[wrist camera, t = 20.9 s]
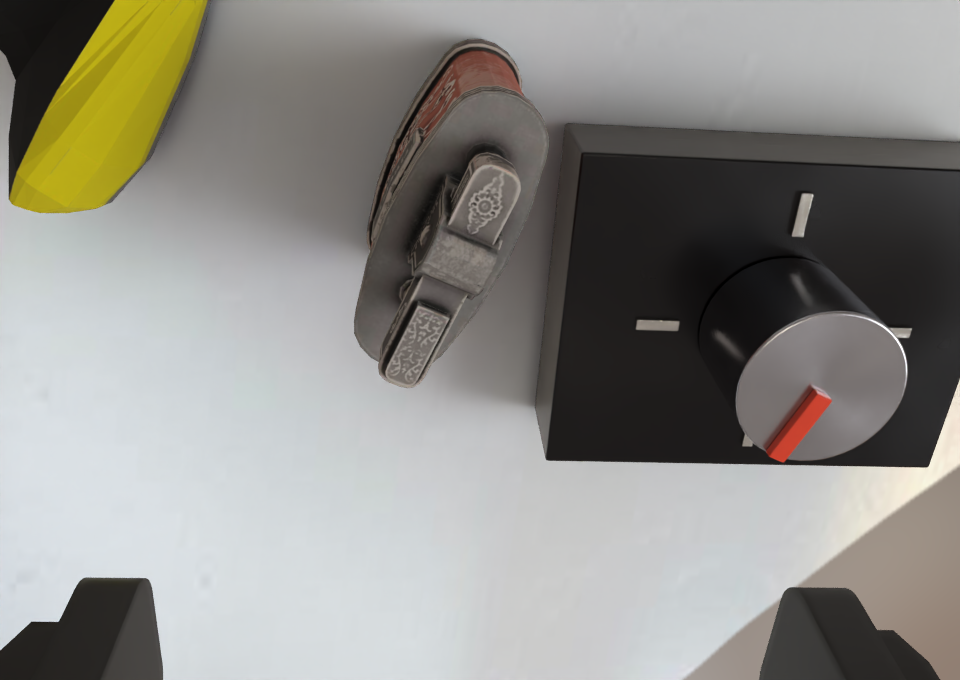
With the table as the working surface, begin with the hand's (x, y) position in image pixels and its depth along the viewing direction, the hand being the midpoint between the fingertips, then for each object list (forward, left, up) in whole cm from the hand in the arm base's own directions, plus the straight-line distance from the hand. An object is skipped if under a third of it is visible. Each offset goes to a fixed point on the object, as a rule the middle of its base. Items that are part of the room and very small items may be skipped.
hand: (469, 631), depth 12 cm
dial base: (-11, +4, -21) cm, 24 cm away
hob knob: (-11, +4, -17) cm, 21 cm away
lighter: (0, 0, -21) cm, 21 cm away
